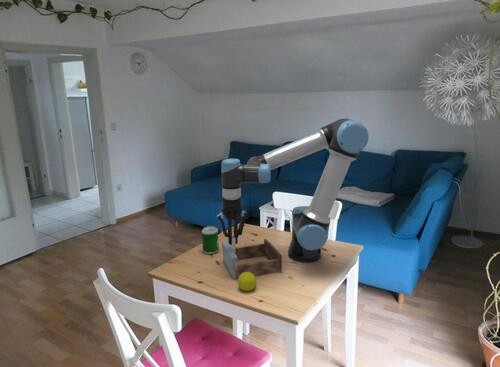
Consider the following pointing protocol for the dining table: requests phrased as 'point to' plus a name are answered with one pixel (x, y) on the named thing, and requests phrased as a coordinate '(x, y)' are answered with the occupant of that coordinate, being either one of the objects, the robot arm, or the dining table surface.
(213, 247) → the soda can
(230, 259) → the blue-grey book
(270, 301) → the dining table surface
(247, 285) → the tennis ball
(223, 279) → the dining table surface
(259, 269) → the crate
